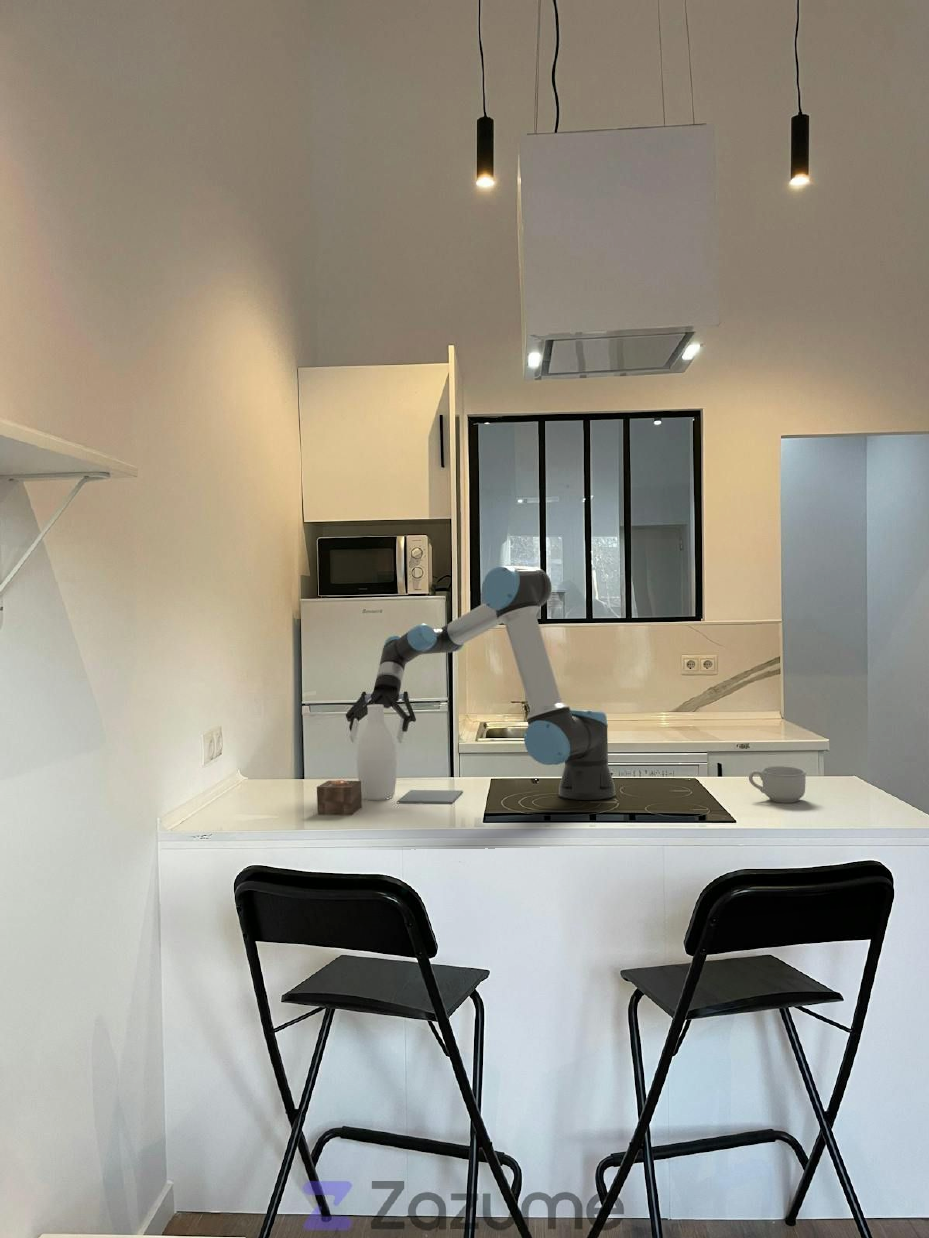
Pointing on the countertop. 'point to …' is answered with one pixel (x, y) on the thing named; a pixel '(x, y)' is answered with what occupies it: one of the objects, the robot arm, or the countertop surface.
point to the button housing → (339, 798)
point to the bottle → (376, 757)
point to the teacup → (781, 783)
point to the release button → (339, 783)
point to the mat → (431, 796)
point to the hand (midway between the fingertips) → (375, 739)
